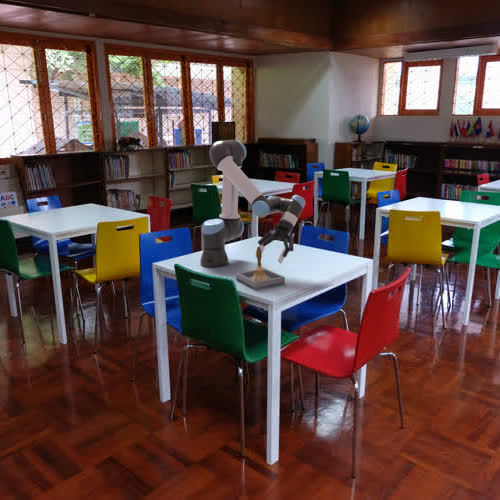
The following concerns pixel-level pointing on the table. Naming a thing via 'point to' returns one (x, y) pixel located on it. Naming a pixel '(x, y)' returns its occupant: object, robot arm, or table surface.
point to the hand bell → (259, 268)
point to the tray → (272, 281)
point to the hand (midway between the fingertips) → (268, 259)
